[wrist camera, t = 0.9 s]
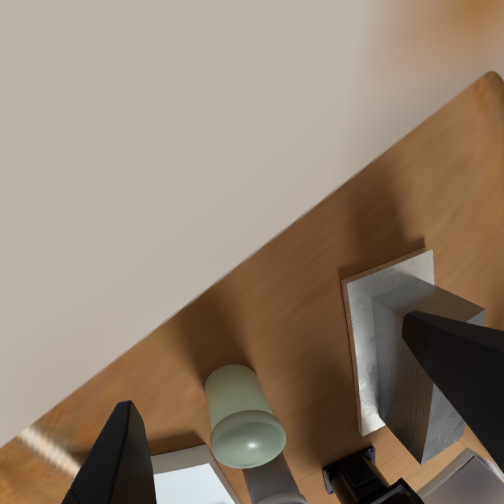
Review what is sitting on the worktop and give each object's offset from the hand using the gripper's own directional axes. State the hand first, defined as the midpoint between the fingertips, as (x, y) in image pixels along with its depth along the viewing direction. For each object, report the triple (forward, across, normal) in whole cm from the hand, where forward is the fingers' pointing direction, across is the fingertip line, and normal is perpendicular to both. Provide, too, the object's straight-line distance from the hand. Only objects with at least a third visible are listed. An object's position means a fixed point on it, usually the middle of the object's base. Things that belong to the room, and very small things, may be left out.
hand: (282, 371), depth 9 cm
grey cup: (+10, 0, +23) cm, 25 cm away
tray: (+11, +11, +25) cm, 29 cm away
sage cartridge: (+12, +1, +12) cm, 17 cm away
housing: (+11, -14, +14) cm, 23 cm away
